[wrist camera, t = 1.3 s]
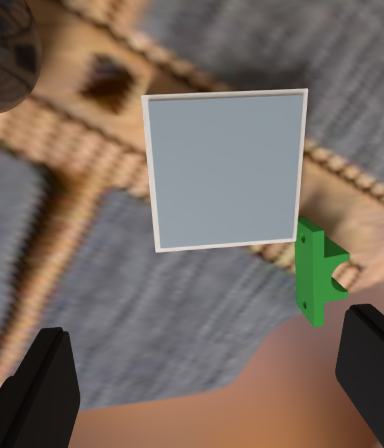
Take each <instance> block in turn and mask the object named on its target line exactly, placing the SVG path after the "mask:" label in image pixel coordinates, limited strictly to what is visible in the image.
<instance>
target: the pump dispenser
mask: <svg viewBox="0 0 384 448" xmlns="http://www.w3.org/2000/svg"><path fill="white" fill-rule="evenodd" d="M41 64H42V44H41V37H40V33H39V29H38V26H37V23H36V20H35V18H34V15H33V13H32V11H31V9H30V7H29V6H28V4H27V2H26V1H25V0H0V113H4V112H6V111H9V110H11V109H13V108H15V107H16V106H18V105H19V104H20V103H22V102H23V101H24V100H25V99H26V98H27V97H28V96H29V94H30V93H31V92H32V90H33V88H34V87H35V85H36V83H37V80H38V77H39V74H40V70H41Z"/></svg>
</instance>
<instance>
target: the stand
mask: <svg viewBox="0 0 384 448" xmlns="http://www.w3.org/2000/svg"><path fill="white" fill-rule="evenodd" d="M307 97H308V89H286V90H261V91H236V92H211V93H186V94H161V95H141V98H142V109H143V119H144V130H145V141H146V152H147V163H148V173H149V184H150V195H151V206H152V217H153V228H154V238H155V249H156V252H167V251H180V250H193V249H205V248H218V247H231V246H243V245H256V244H269V243H281V242H294V241H296V235H297V222H298V210H299V197H300V185H301V172H302V160H303V147H304V135H305V122H306V110H307Z"/></svg>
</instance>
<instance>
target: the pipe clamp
mask: <svg viewBox="0 0 384 448" xmlns="http://www.w3.org/2000/svg"><path fill="white" fill-rule="evenodd" d="M349 255H350V253H348V252H347V251H345V250H344V249H343V248H341V247H340V246H338V245H337V244H336V243H334V242H333V241H331V240H330V239H329V238H327V237H325V238H324V230H323V229H322V228H320V227H319V226H317V225H316V224H314V223H313V222H311V221H310V220H308V219H307V218H305V217H304V216H303V217H298V222H297V235H296V241H295V269H296V299H297V305H298V307H299V308H300V309H301V311H302V312H303V313H304V315H305V316H306V317H307V319H308V320H309V322H310V323H311V324H312V325H313V327H319V326H324V302H329V301H334V300H339V299H345V298H348V291H347V290H346V289H345V288H343V287H342V286H341V285H340V284H339V283H338V282H337V281H336V280H335V279H334V278H333V277H331V276H332V273H333V271H334V270H335V268H336V267H337V266H338V265H340V264H341V263H343V262H345V261H348V260H349Z"/></svg>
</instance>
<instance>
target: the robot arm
mask: <svg viewBox="0 0 384 448" xmlns="http://www.w3.org/2000/svg"><path fill="white" fill-rule="evenodd" d="M335 373H336V377H337V380H338V382H339V383H340V385H341V386H342V388H343V389H344V391H345V392H346V394H347V395H348V396H349V398H350V399H351V401H352V402H353V404H354V405H355V407H356V408H357V410H358V411H359V413H360V414H361V416H362V417H363V418H364V420H365V421H366V423H367V424H368V426H369V427H370V429H371V430H372V431H373V433H374V434H375V436H376V437H377V439H378V440H379V442H380V443H381V445H382V446H383V448H384V315H383V314H382V313H381V312H379V311H378V310H377V309H376V308H375V307H373V306H372V305H371V304H357V305H351V306H350V308H349V310H347V311H346V313H345V318H344V323H343V329H342V335H341V341H340V347H339V352H338V358H337V364H336V369H335ZM79 406H80V392H79V386H78V381H77V375H76V370H75V364H74V359H73V353H72V348H71V342H70V337H69V333H68V332H67V331H64V332H63V329H62V328H61V327H55V328H43V329H41V330H40V331H39V333H38V335H37V337H36V338H35V340H34V342H33V343H32V345H31V347H30V349H29V350H28V352H27V354H26V355H25V357H24V359H23V361H22V362H21V364H20V366H19V367H18V369H17V371H16V373H15V374H14V376H10V377H8V378H7V379H6V380H5V382H4V383H3V384H2V386H1V388H0V448H68V445H69V441H70V438H71V434H72V431H73V427H74V424H75V420H76V417H77V413H78V410H79Z"/></svg>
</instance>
